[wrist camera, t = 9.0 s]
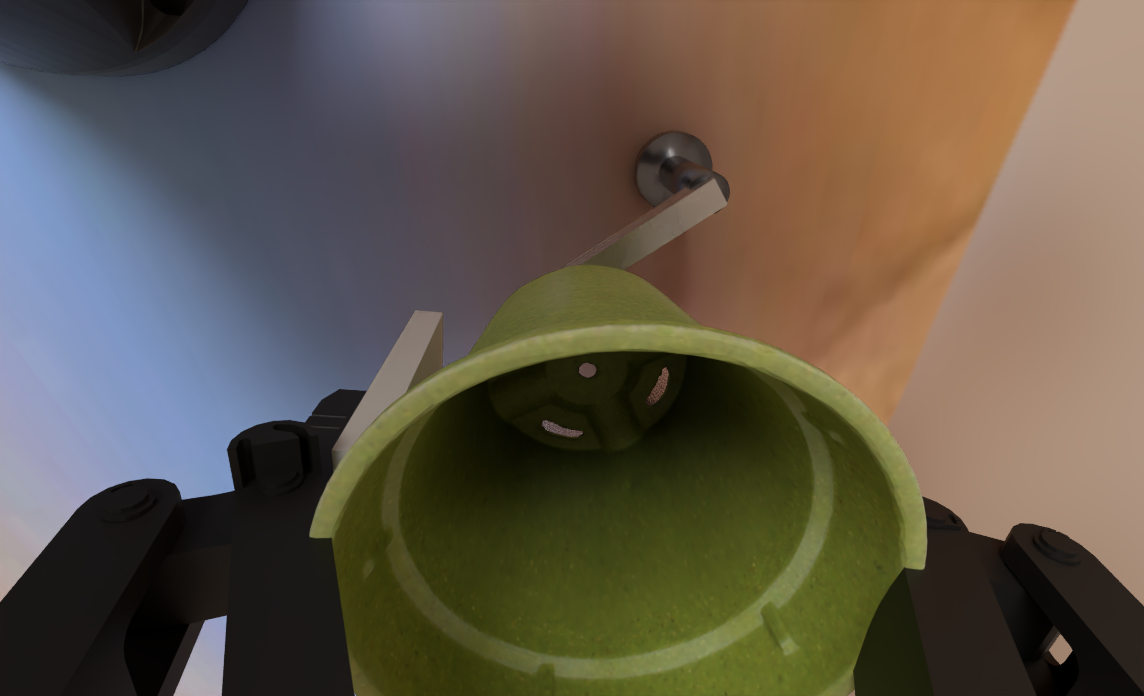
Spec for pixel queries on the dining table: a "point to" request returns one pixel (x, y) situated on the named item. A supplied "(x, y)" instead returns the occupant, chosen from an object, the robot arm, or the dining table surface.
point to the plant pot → (617, 512)
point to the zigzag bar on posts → (664, 200)
